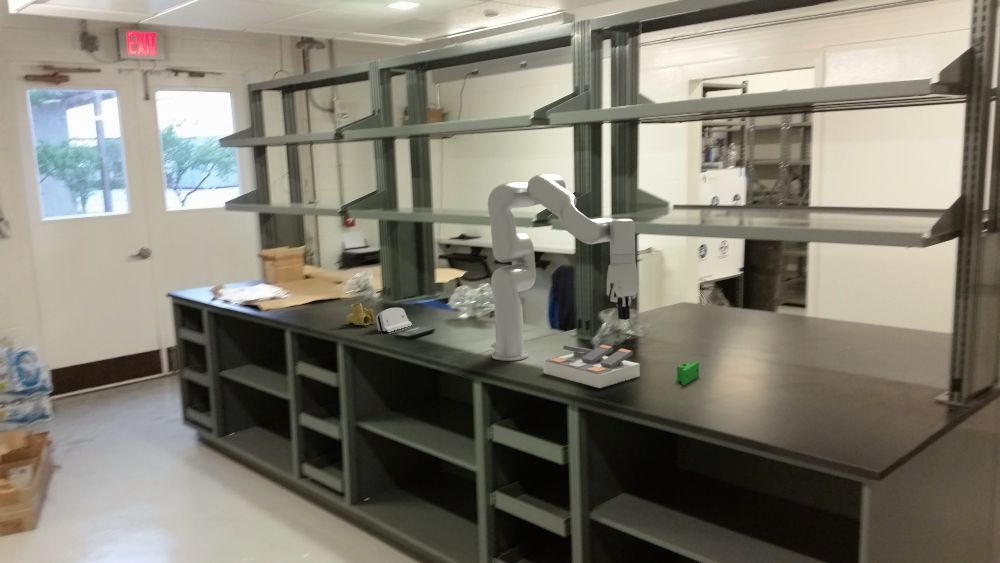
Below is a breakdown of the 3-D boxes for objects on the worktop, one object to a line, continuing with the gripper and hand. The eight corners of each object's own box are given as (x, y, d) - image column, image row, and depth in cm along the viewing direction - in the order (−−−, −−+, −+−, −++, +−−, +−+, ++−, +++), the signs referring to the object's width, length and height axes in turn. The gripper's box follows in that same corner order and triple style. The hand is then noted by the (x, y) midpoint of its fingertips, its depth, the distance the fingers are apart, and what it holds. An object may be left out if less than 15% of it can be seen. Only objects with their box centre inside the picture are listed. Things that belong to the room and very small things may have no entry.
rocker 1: (563, 349, 244) (563, 344, 244) (584, 352, 250) (585, 348, 250) (573, 351, 240) (573, 347, 240) (594, 354, 247) (594, 350, 247)
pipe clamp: (687, 375, 236) (687, 360, 235) (698, 376, 233) (699, 362, 233) (673, 383, 226) (673, 368, 226) (685, 385, 224) (685, 370, 224)
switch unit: (543, 373, 242) (543, 357, 241) (583, 362, 253) (583, 348, 252) (599, 388, 223) (599, 371, 223) (639, 376, 235) (639, 360, 234)
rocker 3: (601, 365, 232) (600, 361, 232) (622, 352, 238) (621, 348, 237) (611, 368, 229) (611, 364, 228) (632, 354, 235) (632, 350, 234)
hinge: (388, 333, 308) (380, 310, 309) (379, 336, 311) (372, 313, 311) (413, 326, 323) (405, 303, 323) (404, 328, 325) (397, 306, 325)
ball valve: (362, 330, 321) (382, 323, 328) (357, 306, 319) (377, 300, 326) (346, 328, 330) (365, 321, 337) (341, 305, 328) (361, 299, 335)
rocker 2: (582, 361, 238) (581, 357, 238) (603, 347, 244) (602, 344, 244) (592, 363, 235) (591, 359, 234) (613, 350, 241) (612, 346, 240)
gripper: (629, 256, 239) (630, 314, 242) (596, 261, 230) (598, 321, 232) (648, 257, 234) (649, 316, 236) (615, 262, 224) (616, 324, 227)
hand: (623, 318), depth 234 cm, fingers closed
